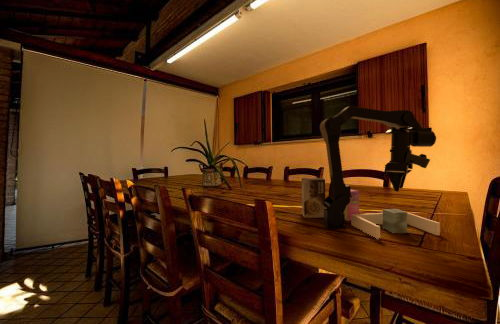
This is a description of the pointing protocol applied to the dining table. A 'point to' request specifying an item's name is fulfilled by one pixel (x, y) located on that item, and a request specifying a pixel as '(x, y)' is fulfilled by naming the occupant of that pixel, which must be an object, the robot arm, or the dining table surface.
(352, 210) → the box
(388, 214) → the block
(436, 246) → the dining table surface
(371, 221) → the wooden frame
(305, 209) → the coffee box
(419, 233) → the dining table surface
